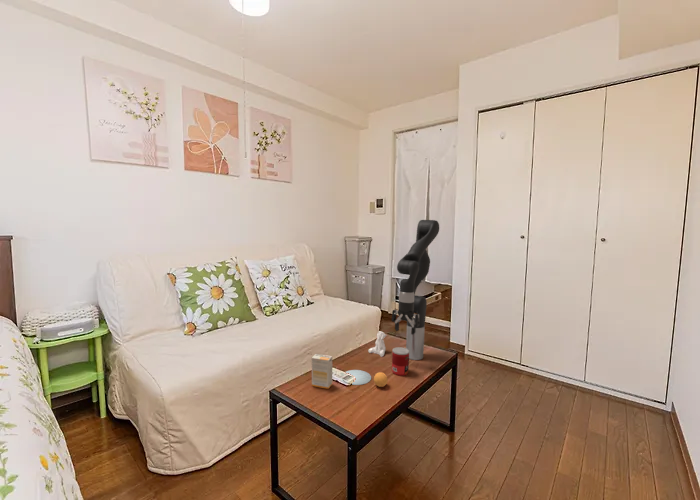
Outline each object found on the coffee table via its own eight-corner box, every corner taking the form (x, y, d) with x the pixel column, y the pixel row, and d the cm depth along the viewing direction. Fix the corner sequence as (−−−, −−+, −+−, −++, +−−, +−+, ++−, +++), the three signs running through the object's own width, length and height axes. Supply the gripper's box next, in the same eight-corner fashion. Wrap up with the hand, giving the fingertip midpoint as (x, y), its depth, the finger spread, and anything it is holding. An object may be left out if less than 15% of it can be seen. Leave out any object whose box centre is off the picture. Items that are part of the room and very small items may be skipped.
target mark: (352, 367, 161) (352, 367, 161) (376, 375, 153) (376, 375, 153) (335, 378, 149) (335, 378, 149) (360, 388, 141) (360, 387, 141)
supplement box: (332, 384, 144) (333, 355, 143) (328, 389, 140) (328, 360, 138) (315, 381, 147) (316, 353, 146) (311, 386, 142) (311, 357, 141)
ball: (378, 381, 148) (378, 368, 147) (389, 385, 144) (390, 372, 144) (371, 386, 143) (371, 373, 142) (383, 391, 139) (383, 377, 139)
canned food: (408, 377, 152) (409, 354, 151) (391, 375, 154) (391, 352, 153) (408, 369, 160) (409, 348, 158) (392, 367, 161) (392, 346, 160)
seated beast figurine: (367, 352, 179) (367, 331, 178) (375, 347, 186) (376, 327, 185) (382, 357, 173) (382, 335, 172) (390, 352, 180) (390, 331, 179)
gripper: (423, 301, 160) (421, 333, 161) (397, 297, 168) (395, 327, 169) (416, 304, 154) (414, 337, 155) (390, 299, 162) (388, 331, 163)
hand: (404, 332), depth 162 cm, fingers open, 8 cm apart
